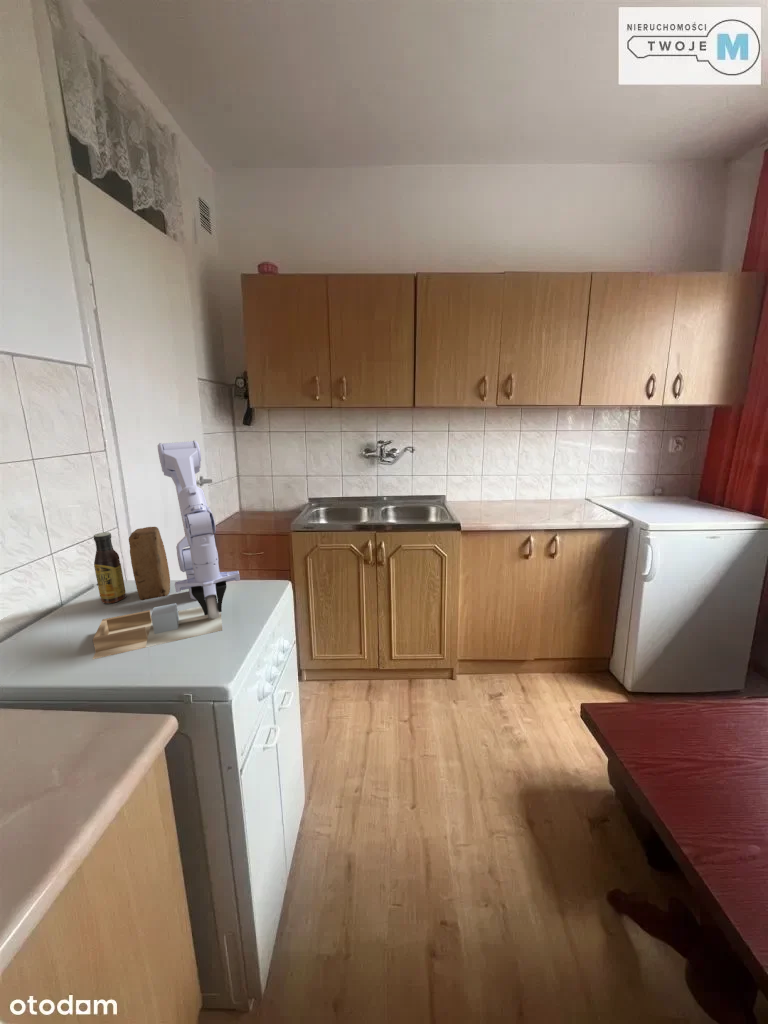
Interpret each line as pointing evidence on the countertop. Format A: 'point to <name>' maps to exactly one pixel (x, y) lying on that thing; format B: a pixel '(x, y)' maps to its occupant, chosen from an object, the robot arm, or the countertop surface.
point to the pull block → (169, 618)
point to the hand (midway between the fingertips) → (213, 611)
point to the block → (149, 563)
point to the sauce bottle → (108, 570)
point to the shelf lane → (147, 631)
